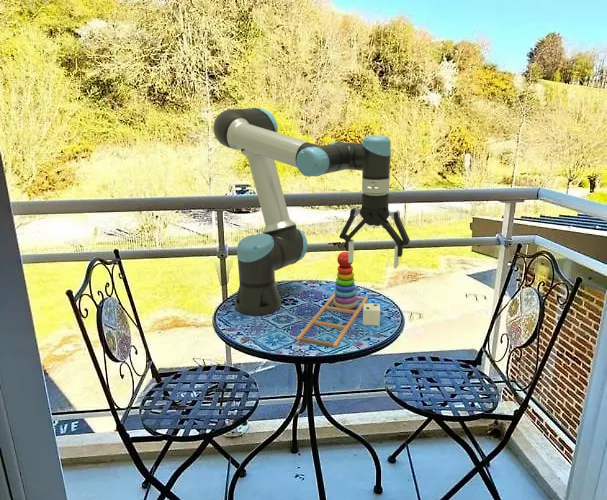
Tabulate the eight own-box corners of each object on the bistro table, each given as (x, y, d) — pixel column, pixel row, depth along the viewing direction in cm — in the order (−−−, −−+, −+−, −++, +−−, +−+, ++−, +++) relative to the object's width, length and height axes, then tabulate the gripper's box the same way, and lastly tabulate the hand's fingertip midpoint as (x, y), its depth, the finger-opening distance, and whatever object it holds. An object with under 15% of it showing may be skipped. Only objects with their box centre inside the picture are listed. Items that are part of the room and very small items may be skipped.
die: (362, 325, 139) (363, 309, 138) (363, 317, 144) (363, 302, 142) (379, 325, 139) (380, 310, 137) (379, 318, 143) (379, 303, 142)
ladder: (296, 340, 131) (296, 337, 131) (334, 295, 161) (334, 292, 160) (336, 348, 127) (336, 345, 126) (367, 299, 156) (367, 297, 156)
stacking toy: (331, 300, 156) (332, 248, 151) (355, 299, 157) (356, 247, 151) (334, 310, 149) (335, 256, 143) (359, 309, 149) (360, 255, 143)
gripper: (328, 192, 130) (328, 263, 137) (418, 198, 121) (413, 273, 128) (337, 188, 137) (336, 255, 143) (422, 193, 128) (418, 264, 134)
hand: (373, 264), depth 136 cm, fingers open, 13 cm apart
